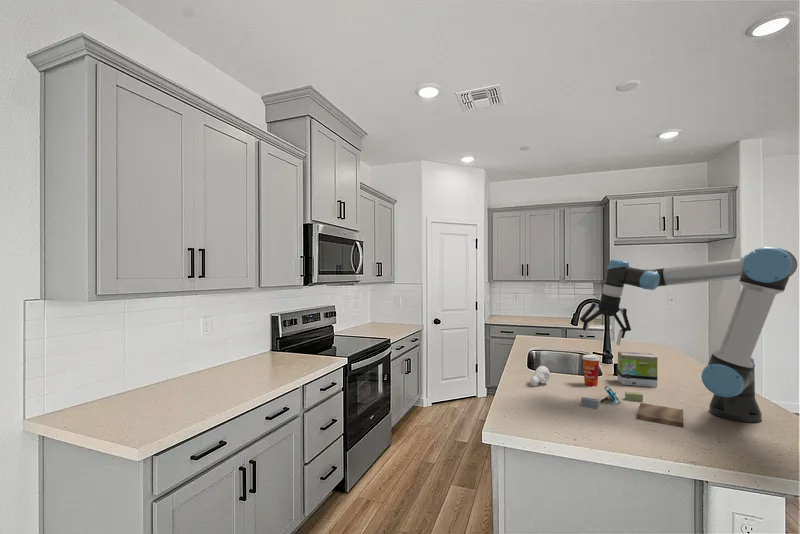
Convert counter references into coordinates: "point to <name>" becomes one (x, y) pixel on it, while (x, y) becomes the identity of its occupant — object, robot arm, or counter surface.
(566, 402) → the counter surface
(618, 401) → the stick construction toy
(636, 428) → the counter surface
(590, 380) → the paper cup
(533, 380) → the white lumpy piece
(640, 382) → the tea box
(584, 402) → the slate grey block
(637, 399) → the olive block
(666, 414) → the walnut board
